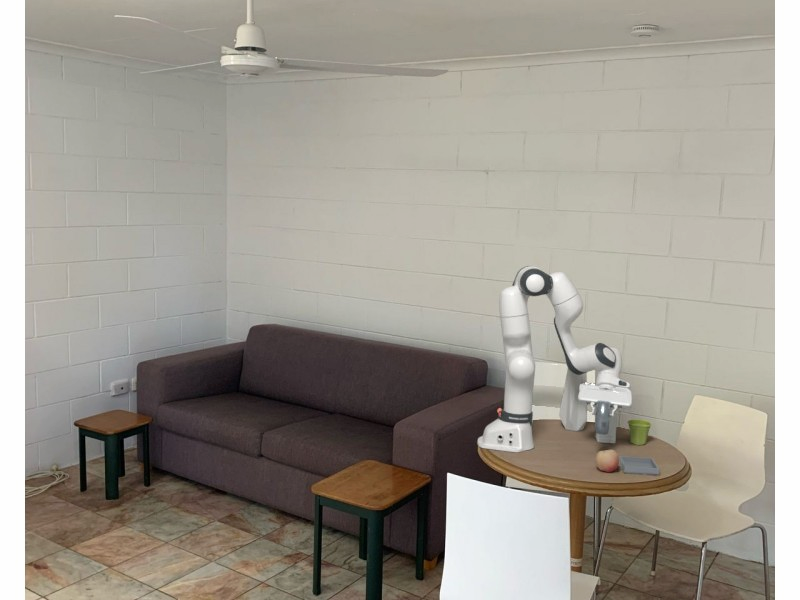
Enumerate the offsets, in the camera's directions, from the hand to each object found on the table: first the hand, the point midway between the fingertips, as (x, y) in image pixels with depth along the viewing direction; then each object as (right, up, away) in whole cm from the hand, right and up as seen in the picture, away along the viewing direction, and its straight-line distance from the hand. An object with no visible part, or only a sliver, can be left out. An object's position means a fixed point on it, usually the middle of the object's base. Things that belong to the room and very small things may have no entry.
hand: (602, 415), depth 288 cm
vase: (-1, -12, +40) cm, 42 cm away
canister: (0, -7, +1) cm, 7 cm away
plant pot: (+20, -15, +22) cm, 34 cm away
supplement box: (+8, -14, +25) cm, 30 cm away
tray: (+11, -18, -10) cm, 23 cm away
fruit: (-2, -18, -13) cm, 23 cm away
